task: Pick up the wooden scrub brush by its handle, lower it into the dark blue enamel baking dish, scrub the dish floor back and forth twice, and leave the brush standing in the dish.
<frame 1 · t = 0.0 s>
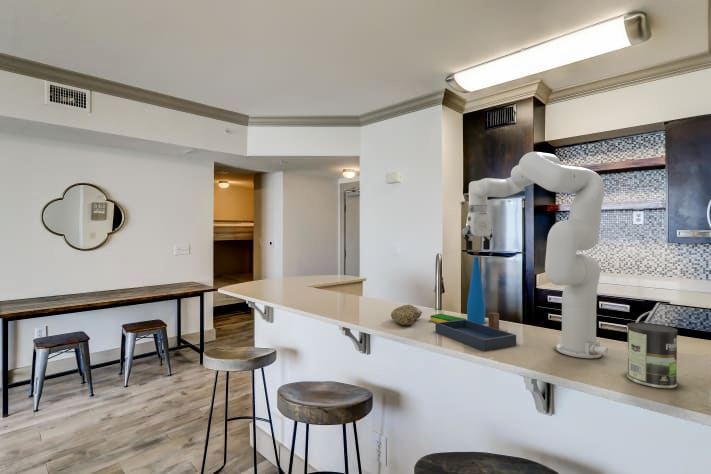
hand: (477, 249, 161), 31 cm above the counter, tool pointing down, fingers open, 9 cm apart
scrub brush: (493, 332, 145), on the counter
coffee can: (651, 381, 98), on the counter
dish sponge: (447, 323, 161), on the counter
baking dish: (473, 338, 137), on the counter
bottle: (475, 322, 162), on the counter
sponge: (406, 322, 161), on the counter
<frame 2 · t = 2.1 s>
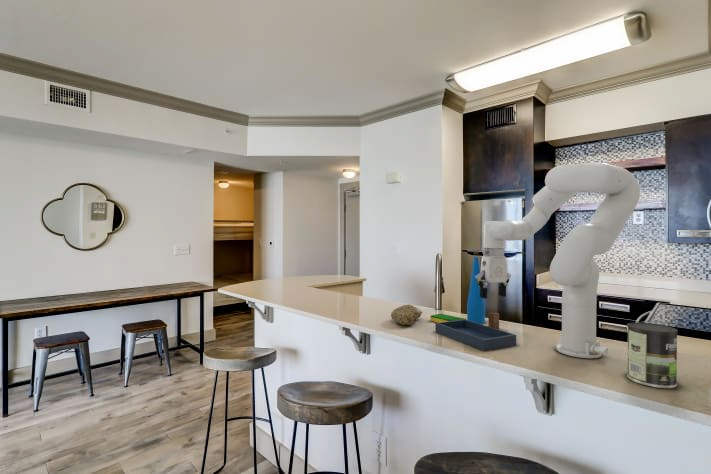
hand: (492, 296, 145), 14 cm above the counter, tool pointing down, fingers open, 9 cm apart
nothing on the counter moved.
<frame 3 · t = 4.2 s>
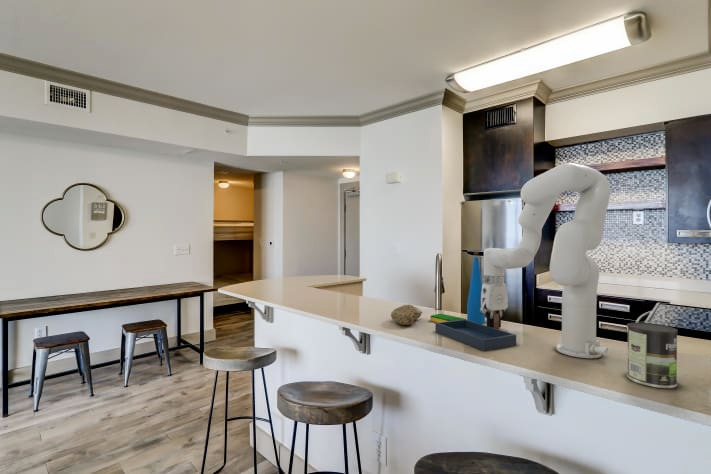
hand: (493, 326, 145), 2 cm above the counter, tool pointing down, fingers closed on scrub brush, 2 cm apart
scrub brush: (493, 332, 145), on the counter, touching gripper
everything else where it was.
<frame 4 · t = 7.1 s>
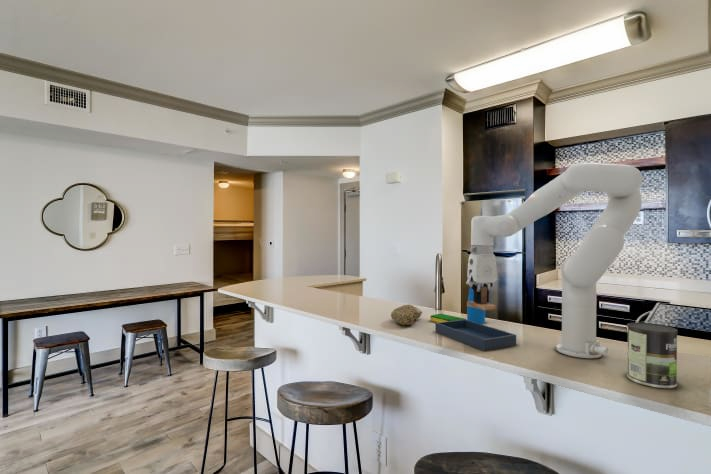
hand: (481, 301, 134), 14 cm above the counter, tool pointing down, fingers closed on scrub brush, 2 cm apart
scrub brush: (480, 307, 134), point 12 cm above the counter, touching gripper
everything else where it was.
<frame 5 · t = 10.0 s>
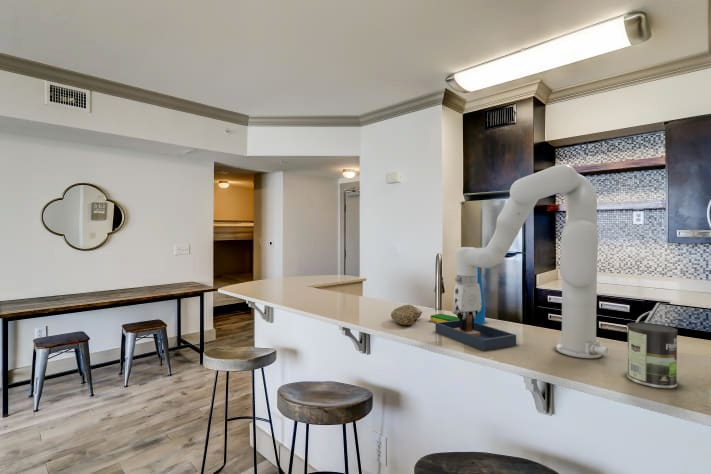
hand: (466, 328, 140), 3 cm above the counter, tool pointing down, fingers closed on scrub brush, 2 cm apart
scrub brush: (466, 334, 140), point 1 cm above the counter, touching gripper
everything else where it was.
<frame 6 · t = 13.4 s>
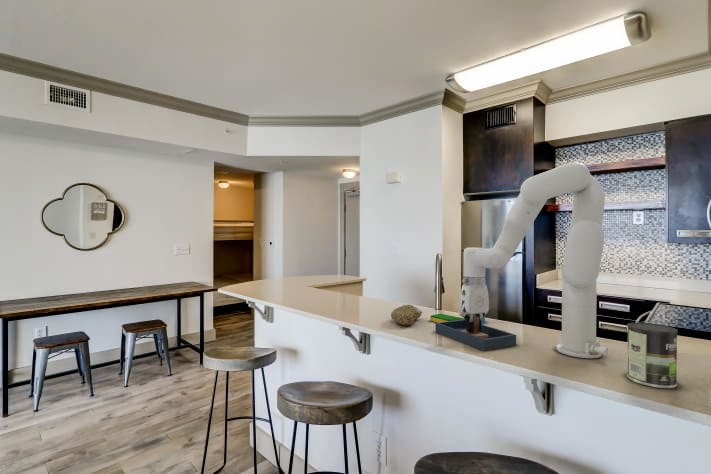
hand: (473, 331, 137), 3 cm above the counter, tool pointing down, fingers closed on scrub brush, 2 cm apart
scrub brush: (473, 336, 137), point 1 cm above the counter, touching gripper
everything else where it was.
when the fingers open (3 cm above the counter, at t = 16.0 s): scrub brush stays where it is, resting on baking dish.
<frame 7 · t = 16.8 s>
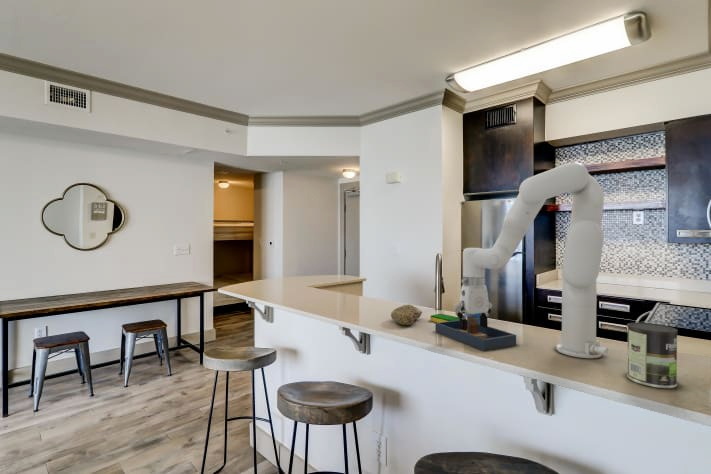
hand: (473, 328, 137), 4 cm above the counter, tool pointing down, fingers open, 9 cm apart
scrub brush: (472, 336, 137), point 1 cm above the counter, touching baking dish
everything else where it was.
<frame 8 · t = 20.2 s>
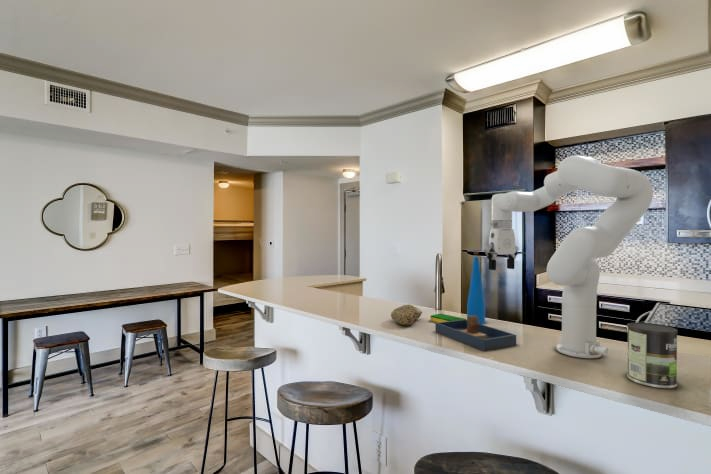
hand: (501, 269, 147), 24 cm above the counter, tool pointing down, fingers open, 9 cm apart
nothing on the counter moved.
at the end: scrub brush inside the target area in the baking dish (0.2 cm from its centre), point 0.6 cm above the baking dish's base; scrub brush moved 13.4 cm from its start; the gripper is holding nothing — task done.
